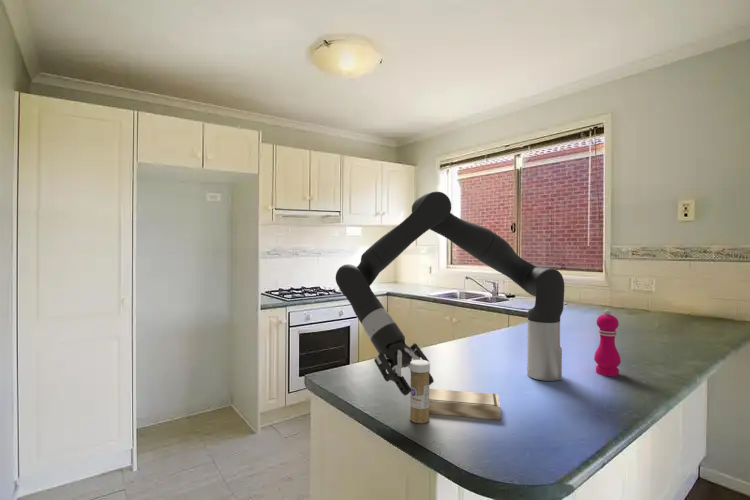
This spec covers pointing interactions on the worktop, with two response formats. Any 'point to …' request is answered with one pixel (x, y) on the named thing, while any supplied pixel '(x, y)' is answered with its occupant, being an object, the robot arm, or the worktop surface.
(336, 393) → the worktop surface
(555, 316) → the robot arm
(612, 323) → the pepper mill
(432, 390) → the maple plank
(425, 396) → the sprinkles bottle
